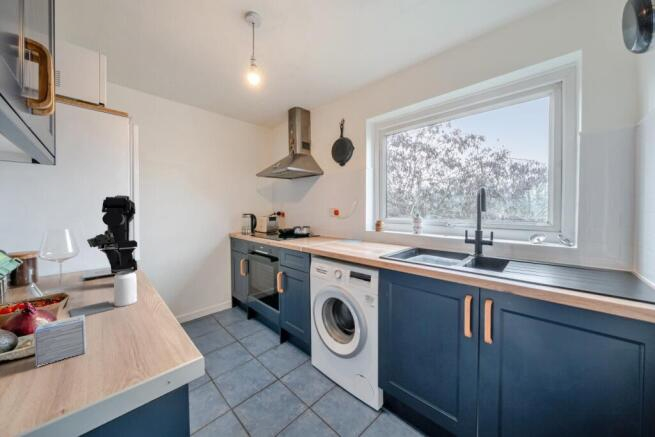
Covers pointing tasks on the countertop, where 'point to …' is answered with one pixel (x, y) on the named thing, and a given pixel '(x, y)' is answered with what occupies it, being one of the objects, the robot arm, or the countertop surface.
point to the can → (125, 288)
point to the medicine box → (60, 339)
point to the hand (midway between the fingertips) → (117, 266)
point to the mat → (91, 309)
